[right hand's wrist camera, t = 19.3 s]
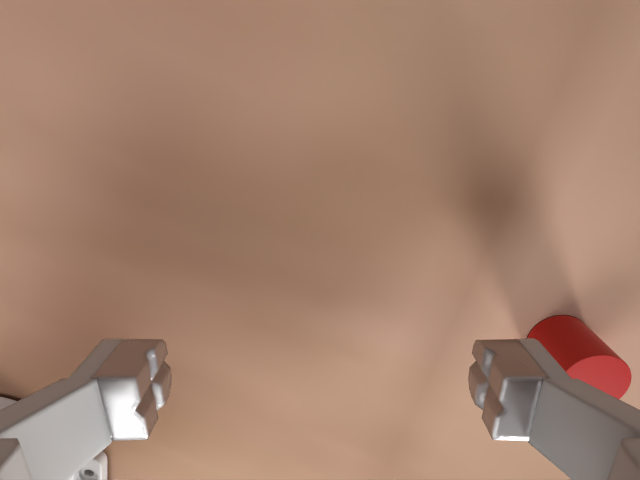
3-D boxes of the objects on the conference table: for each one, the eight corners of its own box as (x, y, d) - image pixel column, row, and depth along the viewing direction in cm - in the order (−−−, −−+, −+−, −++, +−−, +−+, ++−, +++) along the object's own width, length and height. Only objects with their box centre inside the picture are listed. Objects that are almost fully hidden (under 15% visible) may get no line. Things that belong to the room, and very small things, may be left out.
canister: (525, 369, 32) (557, 416, 28) (524, 320, 30) (558, 361, 26) (586, 360, 32) (629, 406, 27) (589, 310, 30) (634, 349, 26)
